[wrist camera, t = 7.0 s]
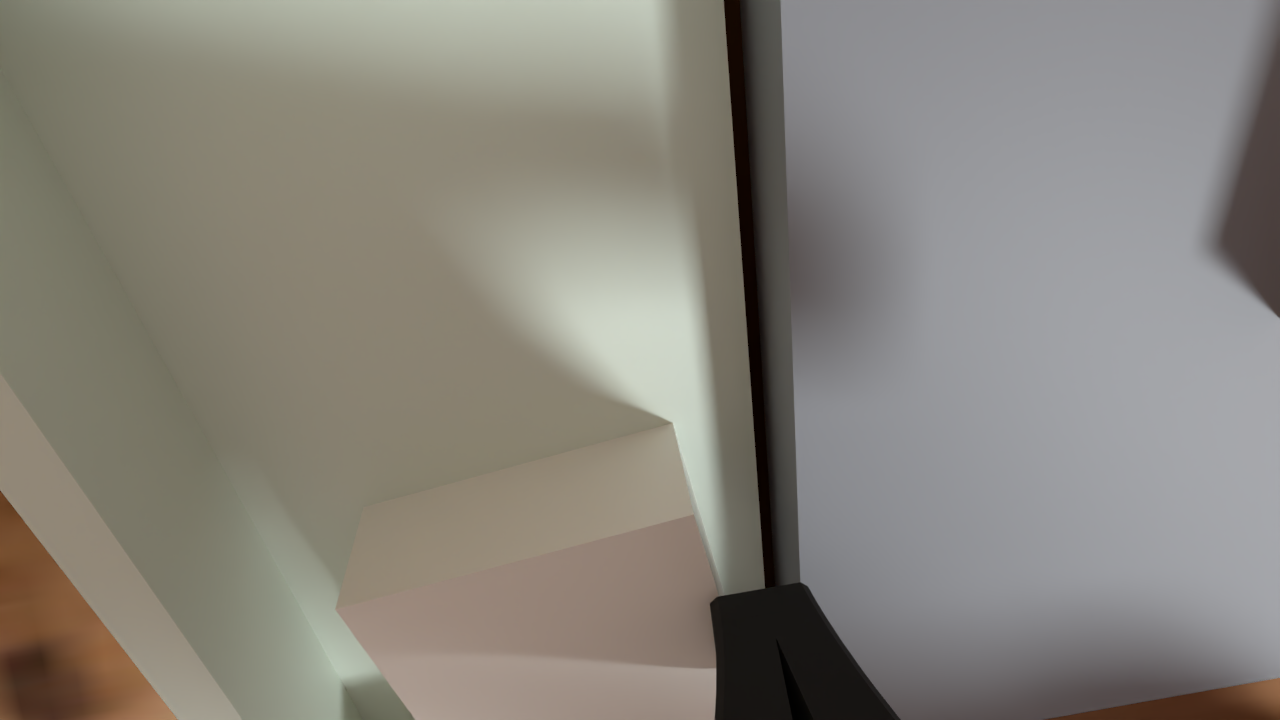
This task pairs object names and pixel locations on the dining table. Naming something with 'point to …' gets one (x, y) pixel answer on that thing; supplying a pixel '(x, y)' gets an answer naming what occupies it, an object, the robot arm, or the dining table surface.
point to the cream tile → (543, 590)
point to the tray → (348, 298)
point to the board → (1023, 341)
